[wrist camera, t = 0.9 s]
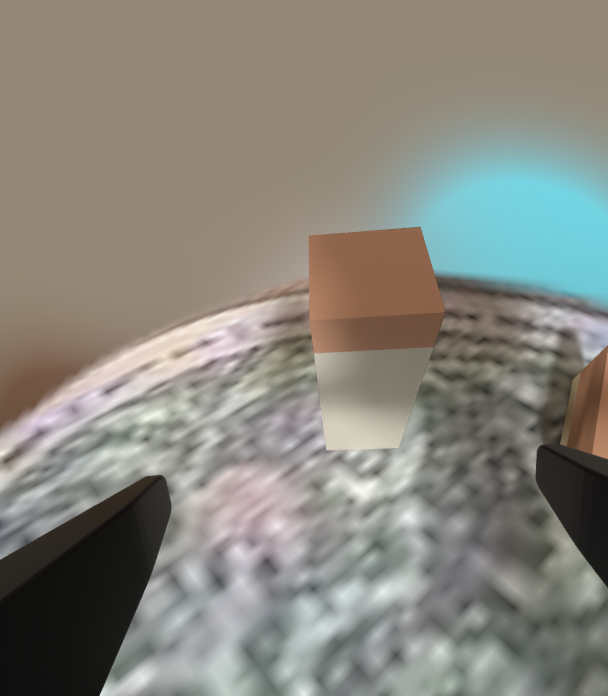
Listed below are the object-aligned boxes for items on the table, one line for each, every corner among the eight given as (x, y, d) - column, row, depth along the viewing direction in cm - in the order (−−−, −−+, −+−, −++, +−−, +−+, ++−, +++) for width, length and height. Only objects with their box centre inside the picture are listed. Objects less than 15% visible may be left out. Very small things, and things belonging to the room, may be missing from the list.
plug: (398, 448, 22) (445, 312, 12) (326, 450, 23) (309, 320, 12) (388, 384, 25) (420, 226, 14) (324, 387, 25) (308, 235, 15)
